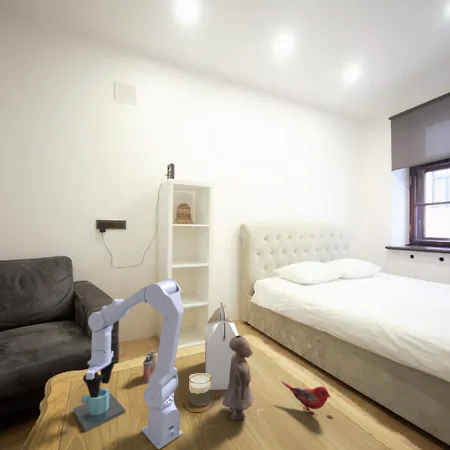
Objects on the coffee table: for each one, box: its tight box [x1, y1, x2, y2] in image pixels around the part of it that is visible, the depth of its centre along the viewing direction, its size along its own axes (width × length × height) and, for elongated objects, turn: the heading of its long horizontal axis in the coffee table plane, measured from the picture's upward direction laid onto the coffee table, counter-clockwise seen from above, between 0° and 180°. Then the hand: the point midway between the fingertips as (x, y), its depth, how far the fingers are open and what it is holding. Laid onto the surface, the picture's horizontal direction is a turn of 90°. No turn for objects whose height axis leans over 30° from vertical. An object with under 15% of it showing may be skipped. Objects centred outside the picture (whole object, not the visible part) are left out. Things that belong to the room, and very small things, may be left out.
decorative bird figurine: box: [280, 380, 332, 416], centre depth 87 cm, size 3×18×10 cm, turn 49°
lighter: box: [142, 349, 158, 384], centre depth 105 cm, size 8×3×10 cm, turn 168°
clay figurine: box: [222, 334, 255, 421], centre depth 85 cm, size 13×10×25 cm
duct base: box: [72, 392, 126, 433], centre depth 84 cm, size 12×12×5 cm
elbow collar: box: [81, 387, 111, 415], centre depth 84 cm, size 8×6×5 cm
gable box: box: [204, 302, 239, 391], centre depth 109 cm, size 22×13×28 cm, turn 5°
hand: (100, 389), depth 84 cm, fingers open, 7 cm apart
